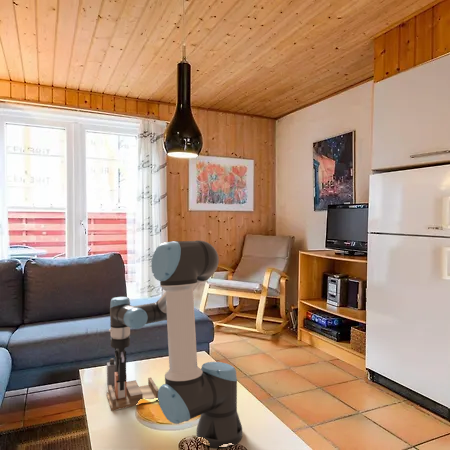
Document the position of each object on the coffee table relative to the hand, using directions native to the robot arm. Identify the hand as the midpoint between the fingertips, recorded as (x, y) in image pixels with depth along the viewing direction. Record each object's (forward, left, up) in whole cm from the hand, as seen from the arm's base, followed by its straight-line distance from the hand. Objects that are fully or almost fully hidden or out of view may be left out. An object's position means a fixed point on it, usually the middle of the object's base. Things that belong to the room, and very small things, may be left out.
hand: (120, 394), depth 146 cm
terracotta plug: (0, 0, 0) cm, 0 cm away
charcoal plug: (+17, +1, -2) cm, 17 cm away
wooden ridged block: (0, -5, -2) cm, 5 cm away
